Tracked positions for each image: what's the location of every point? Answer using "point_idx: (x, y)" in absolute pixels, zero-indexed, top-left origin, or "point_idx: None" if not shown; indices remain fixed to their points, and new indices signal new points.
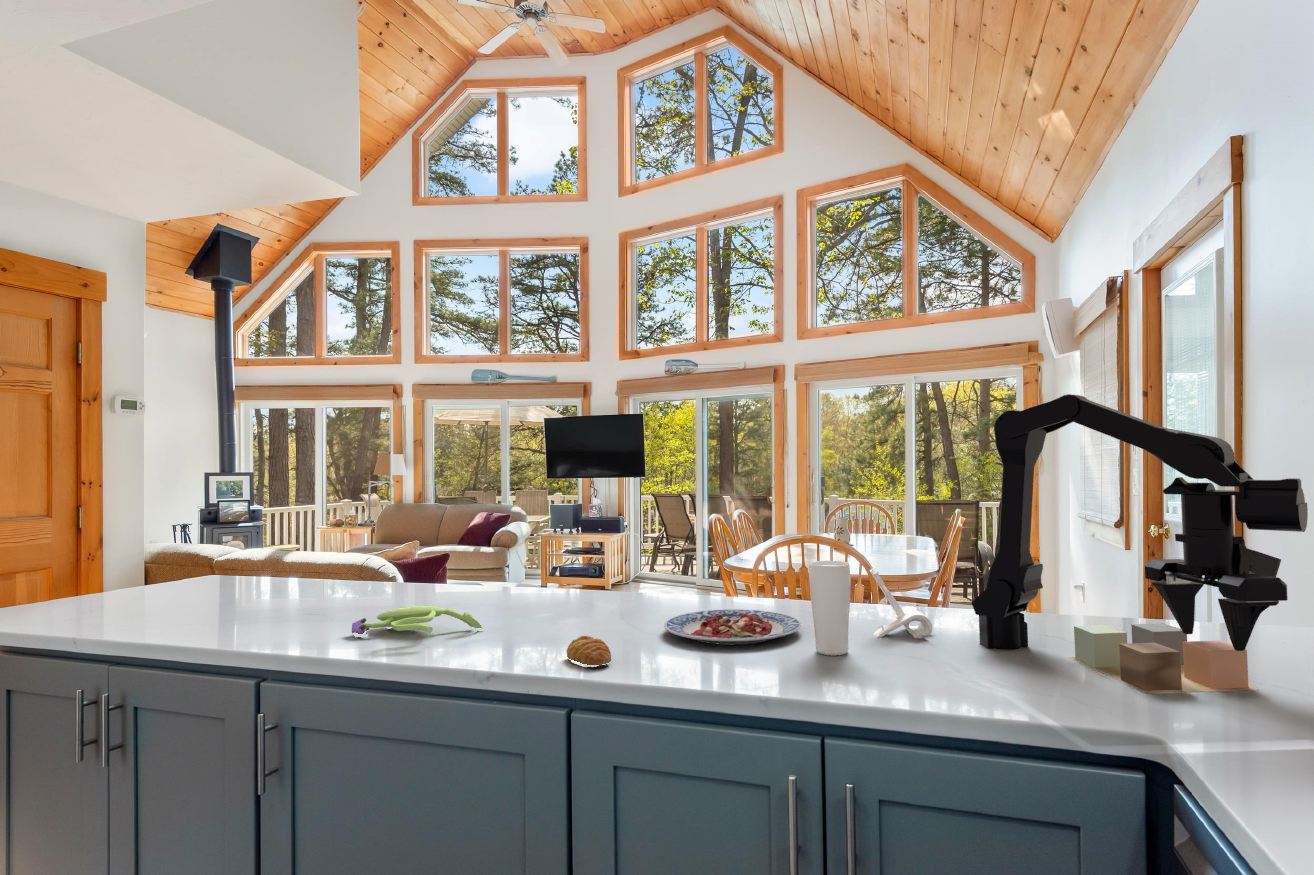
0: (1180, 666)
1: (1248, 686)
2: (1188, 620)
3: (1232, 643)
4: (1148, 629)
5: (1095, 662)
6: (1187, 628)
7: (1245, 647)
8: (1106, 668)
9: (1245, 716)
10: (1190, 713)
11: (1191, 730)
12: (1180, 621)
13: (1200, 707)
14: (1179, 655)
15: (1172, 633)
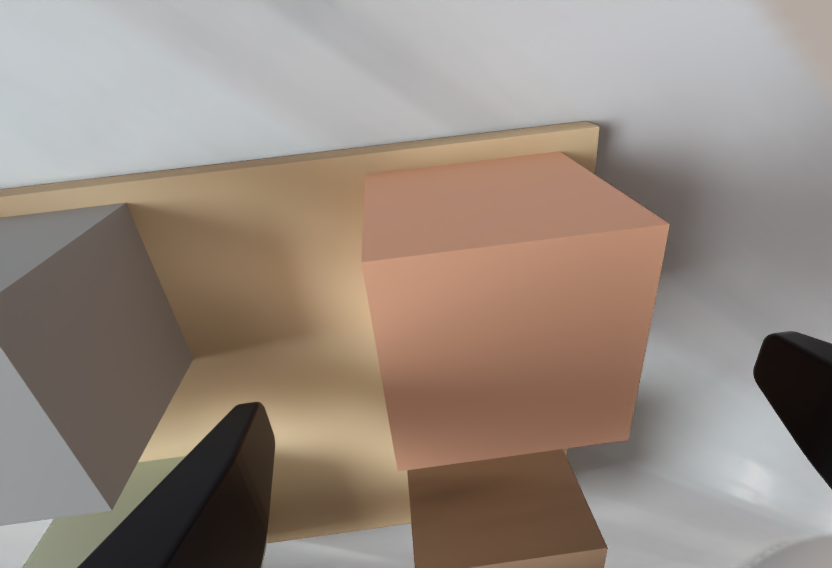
0: (577, 484)
1: (559, 151)
2: (236, 522)
3: (793, 426)
4: (32, 512)
5: (264, 553)
6: (262, 466)
7: (815, 340)
8: (273, 511)
9: (762, 320)
10: (686, 437)
11: (785, 481)
12: (258, 561)
13: (650, 393)
14: (600, 533)
15: (58, 400)
